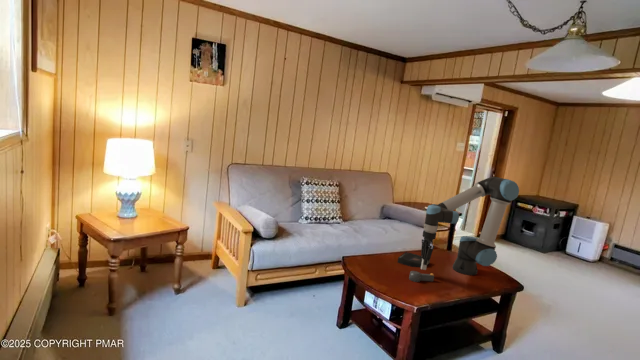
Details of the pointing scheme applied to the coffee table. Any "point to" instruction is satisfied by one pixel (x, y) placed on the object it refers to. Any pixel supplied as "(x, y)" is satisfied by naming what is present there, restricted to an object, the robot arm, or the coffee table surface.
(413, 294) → the coffee table surface
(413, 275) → the dial
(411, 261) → the portable cd player
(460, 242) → the robot arm
